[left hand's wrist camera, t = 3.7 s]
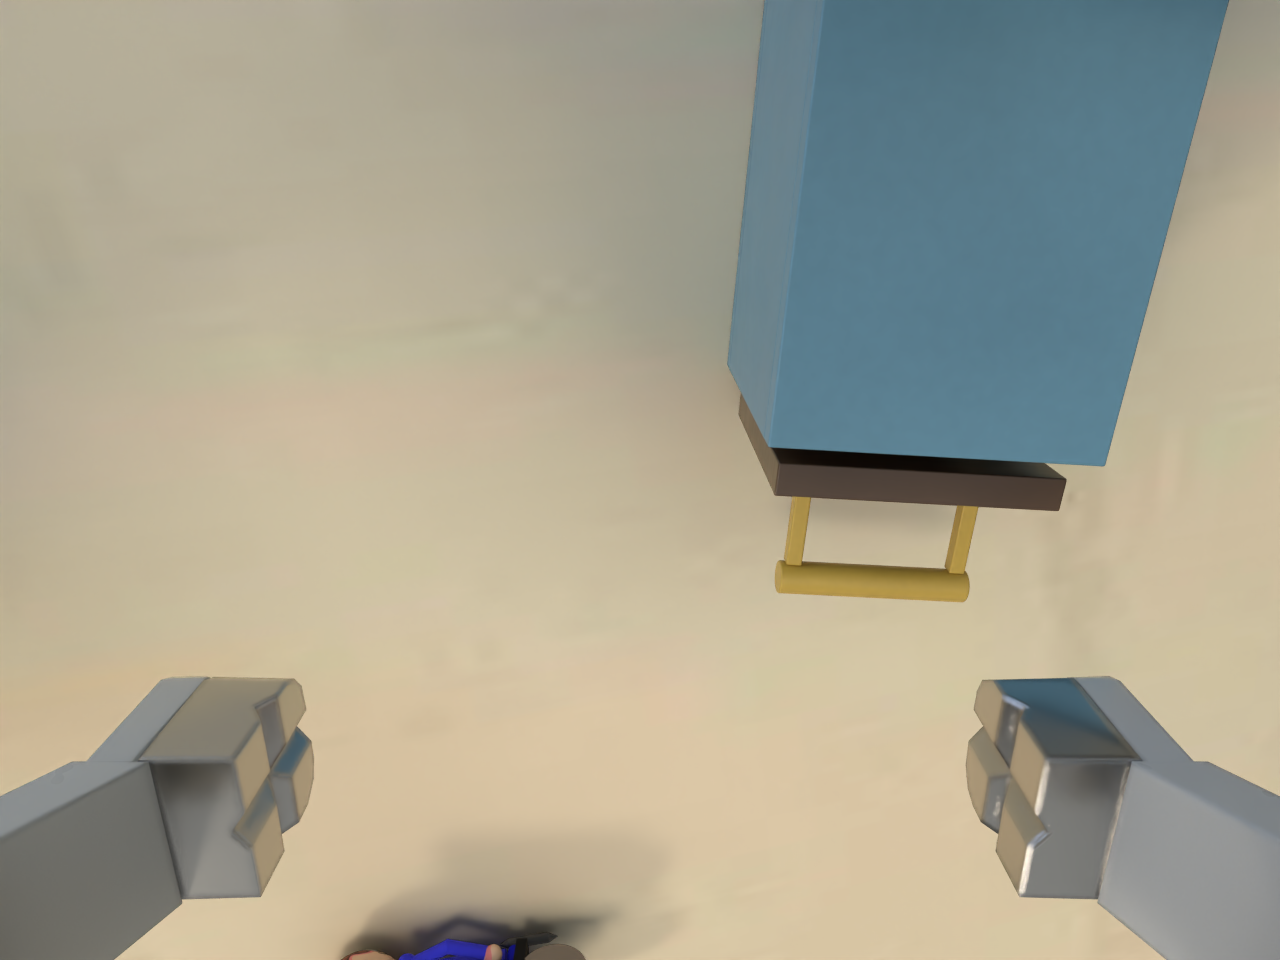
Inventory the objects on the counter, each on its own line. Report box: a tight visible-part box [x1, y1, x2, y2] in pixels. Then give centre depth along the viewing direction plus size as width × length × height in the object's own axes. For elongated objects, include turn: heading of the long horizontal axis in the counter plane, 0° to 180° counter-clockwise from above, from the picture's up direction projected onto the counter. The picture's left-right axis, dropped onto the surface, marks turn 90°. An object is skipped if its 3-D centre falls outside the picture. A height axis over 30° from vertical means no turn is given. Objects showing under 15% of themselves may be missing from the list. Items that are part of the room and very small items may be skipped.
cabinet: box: [727, 0, 1229, 466], centre depth 30 cm, size 19×11×12 cm, turn 176°
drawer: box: [739, 393, 1066, 602], centre depth 32 cm, size 23×10×10 cm, turn 176°
